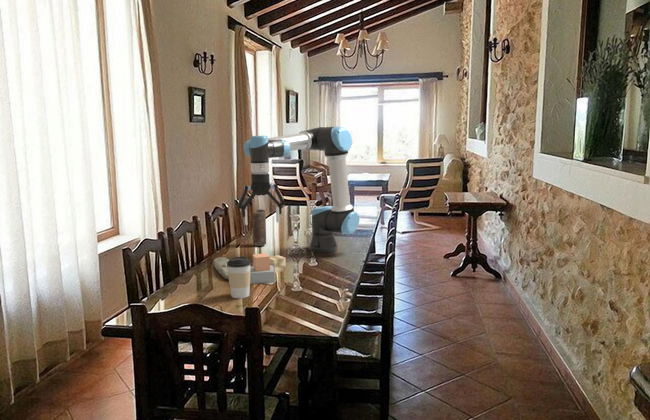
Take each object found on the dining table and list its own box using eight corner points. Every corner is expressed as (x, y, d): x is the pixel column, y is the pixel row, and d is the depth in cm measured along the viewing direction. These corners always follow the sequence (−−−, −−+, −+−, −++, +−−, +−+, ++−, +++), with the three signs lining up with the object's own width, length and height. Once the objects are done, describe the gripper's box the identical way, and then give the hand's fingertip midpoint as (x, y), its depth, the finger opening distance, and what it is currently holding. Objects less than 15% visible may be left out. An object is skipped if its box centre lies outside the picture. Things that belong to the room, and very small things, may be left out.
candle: (269, 244, 274) (267, 209, 271) (263, 247, 267) (261, 211, 264) (256, 243, 277) (255, 209, 273) (250, 246, 270) (249, 211, 267)
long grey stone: (229, 263, 242) (209, 267, 238) (228, 253, 242) (208, 256, 238) (247, 278, 210) (224, 283, 206) (246, 266, 210) (223, 271, 206)
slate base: (273, 276, 215) (273, 265, 215) (274, 283, 206) (274, 271, 205) (250, 277, 214) (250, 266, 213) (250, 284, 204) (250, 273, 203)
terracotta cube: (267, 266, 213) (266, 253, 212) (270, 270, 207) (269, 256, 206) (253, 268, 211) (252, 254, 210) (256, 271, 205) (255, 257, 204)
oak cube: (278, 267, 228) (278, 255, 227) (285, 270, 223) (285, 257, 222) (267, 270, 224) (267, 257, 223) (274, 273, 219) (274, 260, 218)
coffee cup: (229, 292, 194) (228, 255, 192) (252, 291, 195) (251, 254, 192) (227, 299, 185) (225, 261, 183) (251, 298, 186) (249, 260, 183)
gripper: (231, 175, 196) (233, 227, 200) (291, 172, 204) (293, 222, 207) (228, 173, 203) (231, 223, 207) (287, 171, 211) (288, 219, 214)
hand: (262, 223), depth 207 cm, fingers open, 13 cm apart
